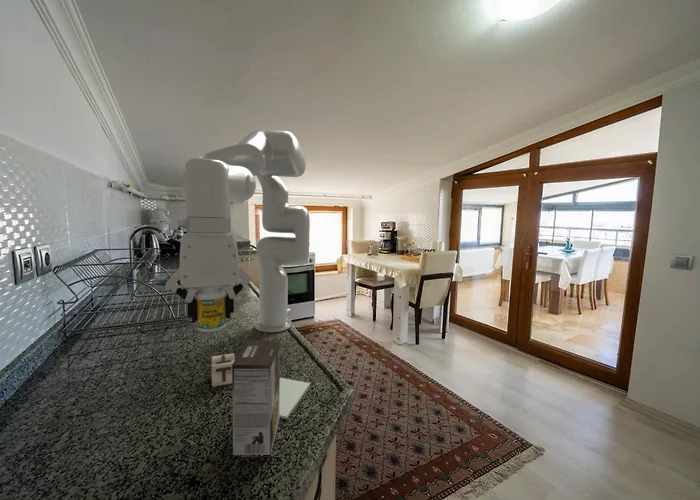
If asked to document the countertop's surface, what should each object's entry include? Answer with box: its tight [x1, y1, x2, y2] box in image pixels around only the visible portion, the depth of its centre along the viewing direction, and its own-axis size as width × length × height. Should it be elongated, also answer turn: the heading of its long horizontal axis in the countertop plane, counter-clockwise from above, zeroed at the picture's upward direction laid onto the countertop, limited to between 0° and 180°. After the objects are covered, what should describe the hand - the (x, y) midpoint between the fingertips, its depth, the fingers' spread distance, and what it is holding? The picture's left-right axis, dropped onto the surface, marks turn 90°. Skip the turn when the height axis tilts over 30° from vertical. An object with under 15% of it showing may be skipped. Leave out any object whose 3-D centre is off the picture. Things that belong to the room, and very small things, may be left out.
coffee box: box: [231, 339, 281, 457], centre depth 52 cm, size 9×6×16 cm
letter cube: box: [211, 353, 236, 388], centre depth 70 cm, size 5×5×5 cm
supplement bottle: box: [195, 287, 228, 333], centre depth 58 cm, size 5×5×10 cm
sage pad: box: [279, 377, 311, 420], centre depth 64 cm, size 12×12×1 cm
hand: (211, 317), depth 58 cm, fingers closed on supplement bottle, 5 cm apart
